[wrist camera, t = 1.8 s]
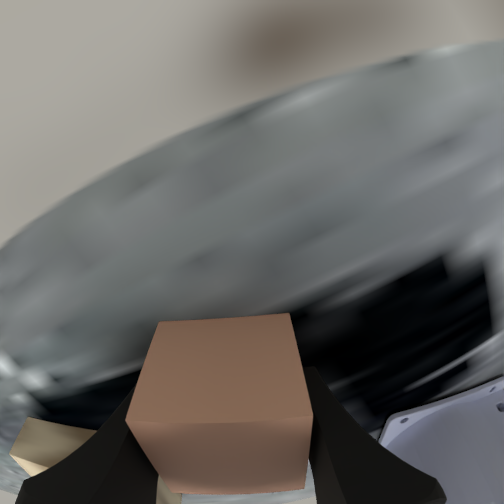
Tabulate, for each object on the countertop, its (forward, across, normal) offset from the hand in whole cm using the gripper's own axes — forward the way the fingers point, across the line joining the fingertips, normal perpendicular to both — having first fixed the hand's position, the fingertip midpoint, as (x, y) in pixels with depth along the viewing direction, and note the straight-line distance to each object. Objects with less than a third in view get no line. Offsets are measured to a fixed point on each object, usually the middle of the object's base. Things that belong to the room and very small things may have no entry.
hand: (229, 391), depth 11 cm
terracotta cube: (+2, 0, 0) cm, 2 cm away
